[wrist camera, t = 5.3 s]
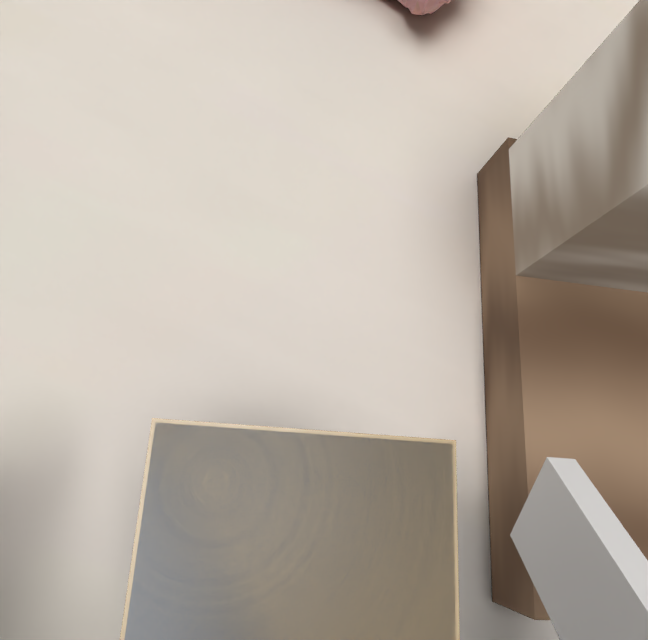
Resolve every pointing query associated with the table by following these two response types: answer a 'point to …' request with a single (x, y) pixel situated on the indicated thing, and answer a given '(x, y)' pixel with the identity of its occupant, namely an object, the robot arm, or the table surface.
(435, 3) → the ice cream bar
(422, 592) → the case
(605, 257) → the stand
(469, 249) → the table surface
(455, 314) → the table surface
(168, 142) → the table surface
